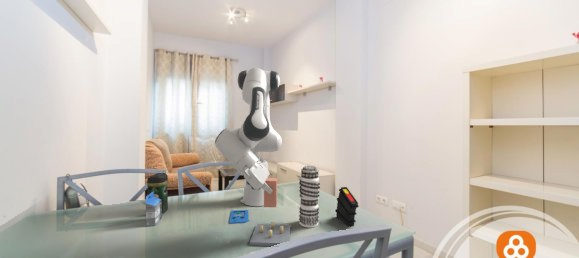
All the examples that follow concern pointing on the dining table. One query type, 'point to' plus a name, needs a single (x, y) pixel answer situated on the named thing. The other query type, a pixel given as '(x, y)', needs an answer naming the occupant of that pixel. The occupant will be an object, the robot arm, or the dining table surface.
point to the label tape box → (153, 210)
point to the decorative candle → (309, 196)
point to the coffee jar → (159, 188)
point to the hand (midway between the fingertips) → (272, 190)
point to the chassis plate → (270, 234)
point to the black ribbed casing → (346, 206)
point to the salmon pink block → (271, 199)
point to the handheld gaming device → (238, 216)
